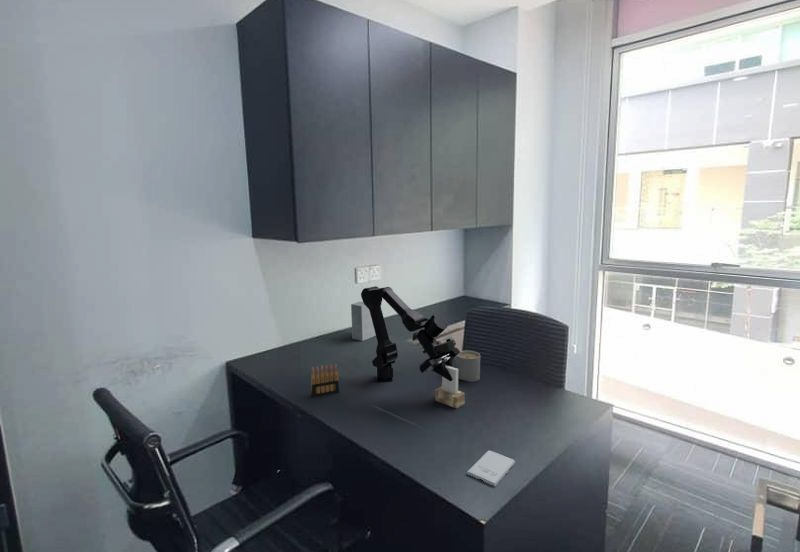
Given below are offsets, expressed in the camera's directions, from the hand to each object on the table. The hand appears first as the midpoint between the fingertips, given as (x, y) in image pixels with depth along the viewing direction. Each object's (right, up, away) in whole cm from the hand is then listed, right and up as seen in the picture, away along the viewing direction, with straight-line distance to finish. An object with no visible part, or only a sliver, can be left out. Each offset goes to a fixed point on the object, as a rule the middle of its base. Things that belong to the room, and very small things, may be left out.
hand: (453, 379), depth 147 cm
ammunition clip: (-48, -8, +10) cm, 50 cm away
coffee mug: (+9, -5, +27) cm, 29 cm away
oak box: (-1, -9, +2) cm, 10 cm away
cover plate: (-1, -6, +2) cm, 7 cm away
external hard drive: (+6, -16, -35) cm, 39 cm away
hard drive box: (-38, +3, +82) cm, 90 cm away
